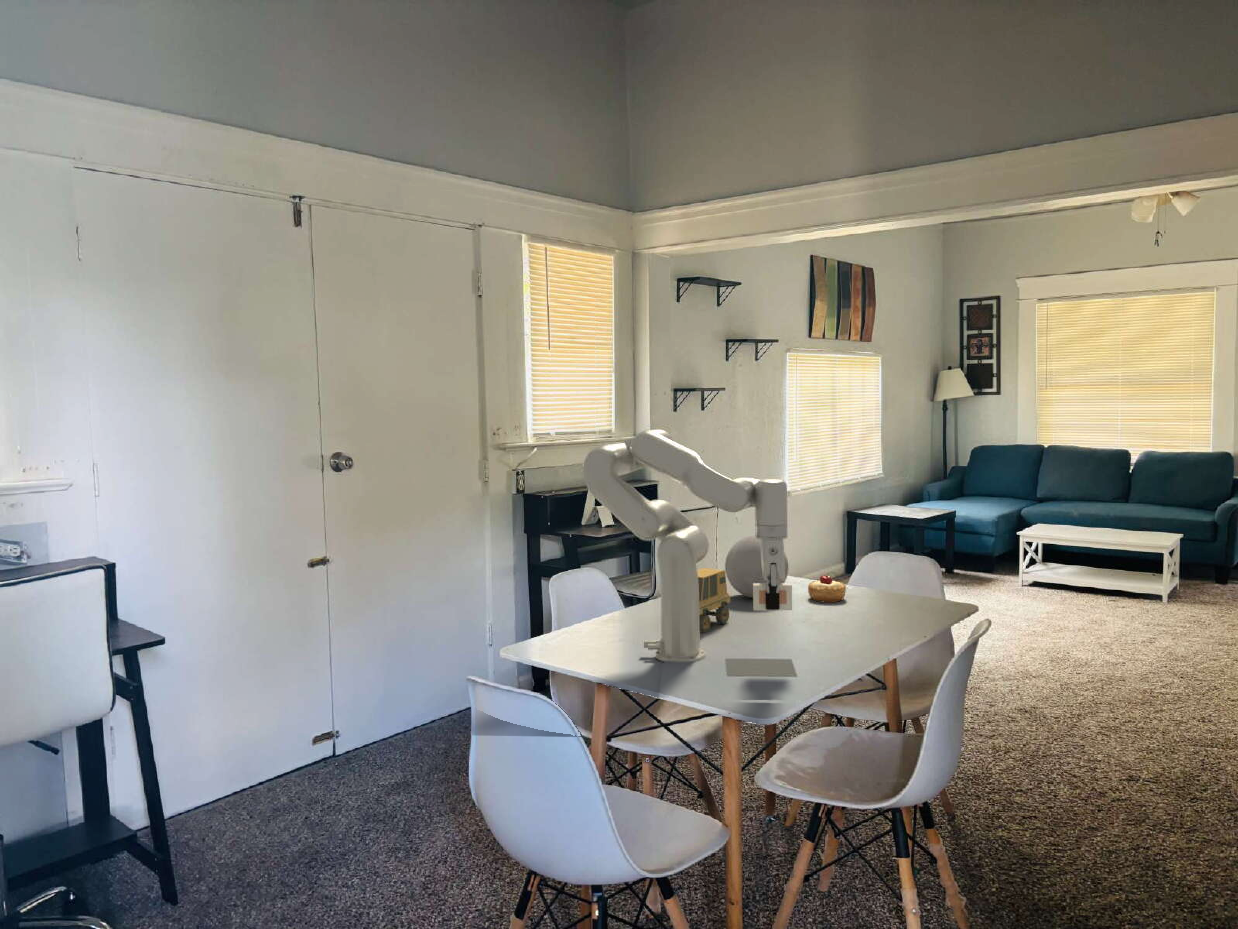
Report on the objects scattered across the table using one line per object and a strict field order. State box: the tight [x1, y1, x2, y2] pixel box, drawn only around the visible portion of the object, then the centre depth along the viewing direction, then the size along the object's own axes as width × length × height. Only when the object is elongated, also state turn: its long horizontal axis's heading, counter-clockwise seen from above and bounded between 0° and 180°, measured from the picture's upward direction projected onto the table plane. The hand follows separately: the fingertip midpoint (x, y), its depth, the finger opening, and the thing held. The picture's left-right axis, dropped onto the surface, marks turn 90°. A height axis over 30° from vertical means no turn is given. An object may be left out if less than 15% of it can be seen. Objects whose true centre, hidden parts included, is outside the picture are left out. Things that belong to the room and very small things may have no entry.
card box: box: [752, 582, 793, 611], centre depth 222 cm, size 9×3×6 cm, turn 85°
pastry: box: [807, 571, 847, 603], centre depth 293 cm, size 12×12×9 cm
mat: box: [725, 658, 798, 678], centre depth 220 cm, size 16×14×1 cm
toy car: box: [697, 567, 732, 633], centre depth 262 cm, size 10×19×15 cm, turn 145°
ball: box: [724, 535, 789, 599], centre depth 297 cm, size 20×20×20 cm
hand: (772, 607), depth 222 cm, fingers closed on card box, 2 cm apart
